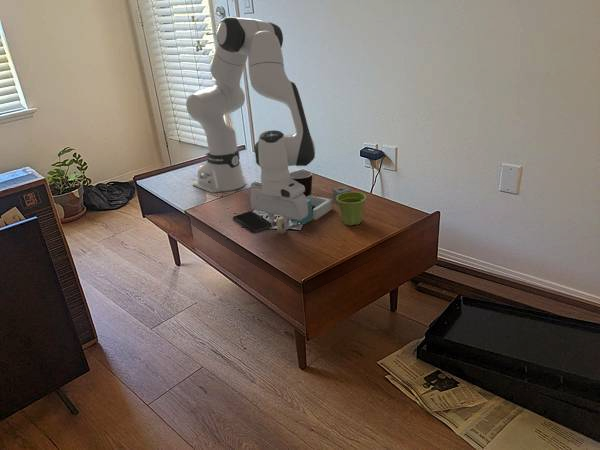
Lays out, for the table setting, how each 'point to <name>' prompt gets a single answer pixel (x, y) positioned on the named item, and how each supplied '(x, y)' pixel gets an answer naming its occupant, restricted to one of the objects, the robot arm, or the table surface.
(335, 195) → the grey cube with symbols
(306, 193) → the coffee mug
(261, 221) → the phone
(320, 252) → the table surface
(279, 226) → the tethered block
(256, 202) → the robot arm
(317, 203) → the rail lane
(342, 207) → the plant pot
